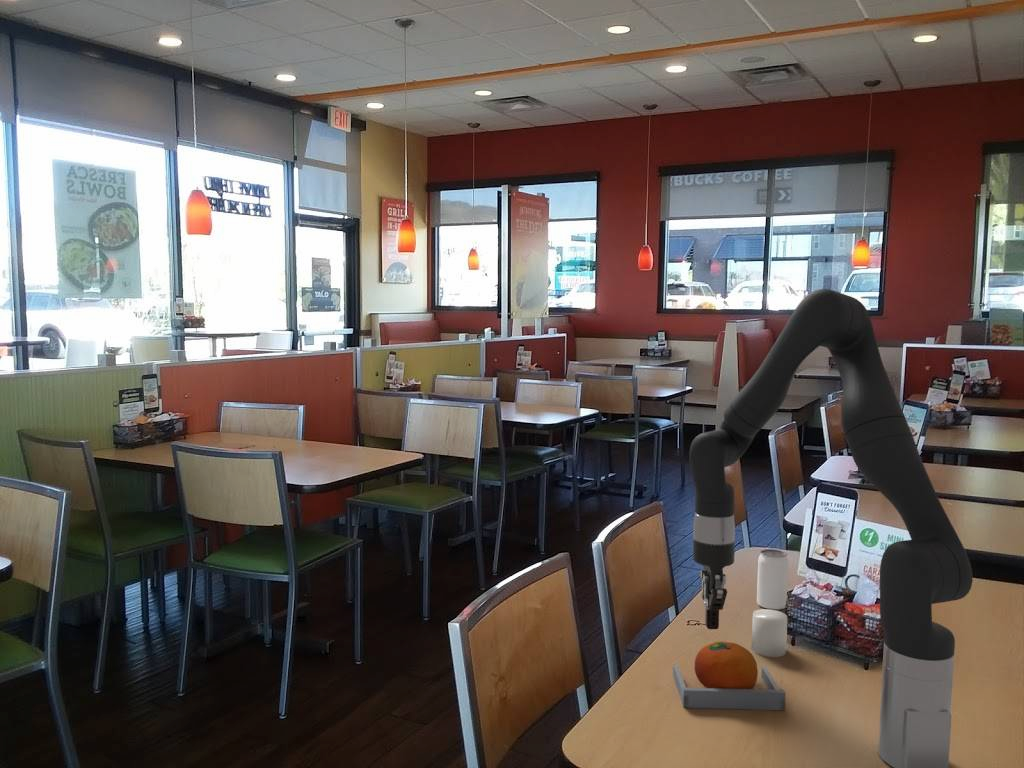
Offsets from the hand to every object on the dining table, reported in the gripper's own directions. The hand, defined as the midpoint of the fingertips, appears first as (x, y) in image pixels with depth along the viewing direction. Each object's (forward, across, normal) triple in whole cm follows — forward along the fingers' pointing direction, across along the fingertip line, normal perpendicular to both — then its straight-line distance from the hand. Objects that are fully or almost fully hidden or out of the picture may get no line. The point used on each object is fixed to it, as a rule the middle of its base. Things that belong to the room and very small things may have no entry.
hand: (711, 627), depth 155 cm
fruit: (+7, -12, 0) cm, 14 cm away
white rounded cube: (+6, +6, -12) cm, 15 cm away
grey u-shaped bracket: (+7, -12, 0) cm, 14 cm away
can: (+6, +29, -20) cm, 36 cm away
